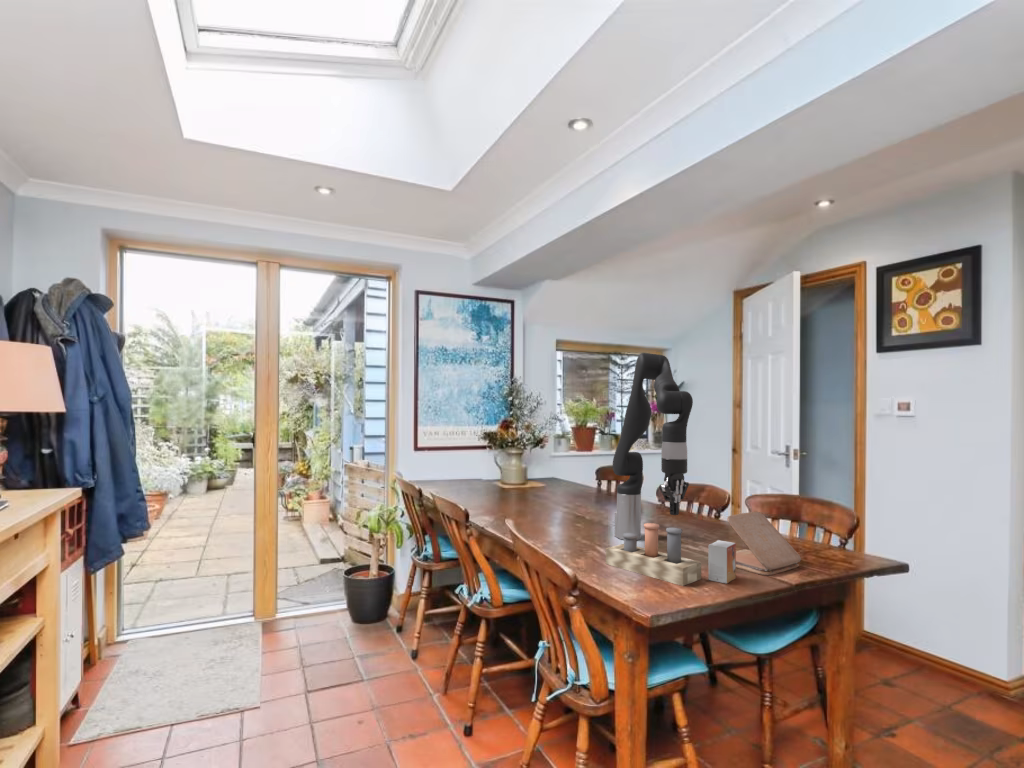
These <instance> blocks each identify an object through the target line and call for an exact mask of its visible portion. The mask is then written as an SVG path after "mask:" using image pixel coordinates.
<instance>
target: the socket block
mask: <svg viewBox="0 0 1024 768" xmlns="http://www.w3.org/2000/svg"><path fill="white" fill-rule="evenodd" d="M605 564H606V565H608V566H611V567H615V568H618V569H622V570H625V571H629V572H632V573H636V574H640V575H643V576H646V577H649V578H654V579H658V580H661V581H665V582H666V583H671V584H674V585H678V586H682V587H684V586H686V585H689V584H692V583H694V582H697V581H700V580H702V562H701V561H699V560H695V559H694V560H693V559H690V558H686V557H683V556H681V563H678V564H675V563H671V562H667V552H662V551H658V557H655V558H652V557H648V556H645V547H640V546H637V551H636V552H628V551H624V543H621V544H617V545H613V546H609V547H605Z"/></svg>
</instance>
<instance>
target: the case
mask: <svg viewBox="0 0 1024 768" xmlns="http://www.w3.org/2000/svg"><path fill="white" fill-rule="evenodd" d="M726 519H727V523H728V524H729V525H730V527H731V528H732V529H733V530H734V532H735V533H736V535H738V536H739V538H740V539H741V541H742V542H743V543H744V544H745V546H746V547H747V548H748V549H744V548H743V549H739V550H736V569H737V570H738V569H739V570H742V571H746V572H748V573H752V574H757V575H760V576H764V577H765V576H768V577H769V576H773V575H775V574H780V573H783V572H785V571H786V572H787V571H790V570H792V569H796V568H799V563H800V562H801V559H802V558H801V556H800V554H799V553H798V552H797V551H796V549H794V547H793V546H792V545H791V544H790V543H789V542H788V541H787V540H786V538H785V537H784V535H782V533H780V531H779V530H777V528H776V527H775V526H774V525H773V523H771V522H770V520H768V518H767V517H766V516H765V515H764V514H763V513H761V512H759V511H750V512H742V513H738V514H731V515H728V516H727V518H726Z"/></svg>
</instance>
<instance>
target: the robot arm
mask: <svg viewBox="0 0 1024 768" xmlns="http://www.w3.org/2000/svg"><path fill="white" fill-rule="evenodd" d="M644 380H652V381H654V382H653V389H654V393H655V394H656V409H657V410H658V412H660V413H661V414H663V415H678V416H677V418H676V419H675V420H672V421H668V422H664V423H663V425H662V428H661V429H662V431H661V432H662V433H661V435H662V436H661V437H662V442H661V443H662V444H661V456H660V457H661V458H660V459H661V461H660V462H661V463H660V464H661V465H660V467H661V472H662V473H663V474H664V478H663V481H664V482H663V484H659V486H658V488H659V490H660V492H661V494H662V496H663V499H664V501H668V502H667V503H669V515H671V516H679V514H680V502H681V500H682V501H683V500H684V498H685V496H686V493H687V491H688V488H689V486H690V483H689V482H686V481H685V476H684V475H685V474H687V473H688V445H687V431H688V430H687V429H688V422H689V420H690V415H691V412H692V410H693V404H694V403H693V397H692V395H691V394H690V392H688V391H686V390H680V387H679V386H678V384H677V382H676V381H675V380H674V377H673V371H672V367H671V363H670V361H669V358H668V357H667V356H666V355H663V354H657V353H650V352H640V353H639V354H638V356H637V358H636V362H635V367H634V373H633V380H632V386H631V390H630V395H629V399H628V402H627V407H626V410H625V414H624V419H623V423H622V424H623V425H622V429H621V434H620V437H619V440H618V443H617V447H616V449H615V452H614V455H613V459H612V470H613V474H615V475H616V476H619V477H621V476H622V477H624V476H625V477H626V476H628V479H627V480H625V481H624V482H623V483H620V484H618V485H617V486H616V511H614V537H616V538H617V539H620V540H623V541H624V537H623V534H624V533H634V534H637V535H638V538H637V541H639V540H641V538H642V523H641V522H642V513H641V512H642V488H643V473H644V472H643V471H644V470H643V469H644V460H643V457H642V455H641V453H640V452H638V451H630V450H631V449H632V447H633V445H634V444H635V443H636V442H637V441H638V440H639V439H641V437H642V436H643V435H644V434H645V433H646V432H647V431H648V428H649V425H650V421H651V418H652V411H653V410H652V408H651V405H650V402H649V400H648V397H647V396H646V393H645V390H644Z"/></svg>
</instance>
